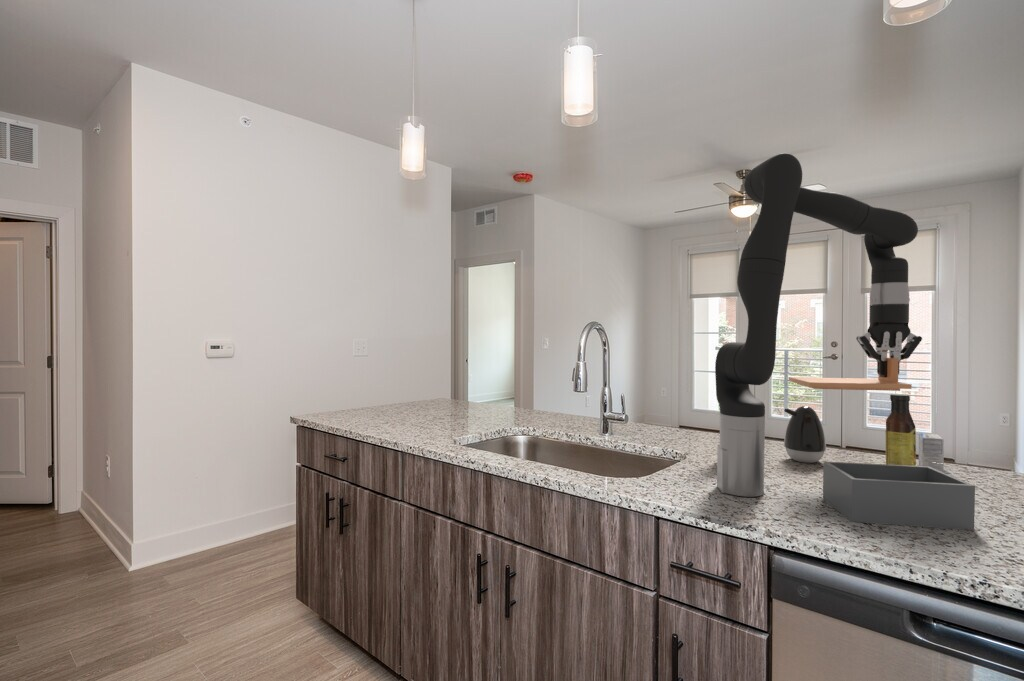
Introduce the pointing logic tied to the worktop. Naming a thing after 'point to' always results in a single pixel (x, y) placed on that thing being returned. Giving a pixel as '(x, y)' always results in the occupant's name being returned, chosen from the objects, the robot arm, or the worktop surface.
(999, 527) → the worktop surface
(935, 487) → the tub
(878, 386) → the lid
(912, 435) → the sauce bottle
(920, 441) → the medicine box
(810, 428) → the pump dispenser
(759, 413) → the robot arm
